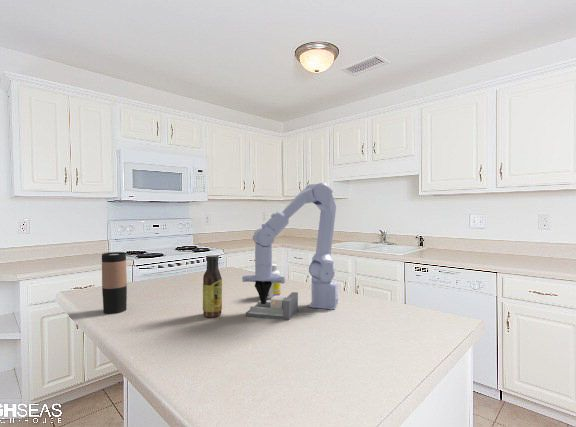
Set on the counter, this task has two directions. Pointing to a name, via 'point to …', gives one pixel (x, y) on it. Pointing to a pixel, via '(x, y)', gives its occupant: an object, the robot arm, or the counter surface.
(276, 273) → the supplement bottle
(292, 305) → the board
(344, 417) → the counter surface
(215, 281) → the sauce bottle
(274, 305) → the block
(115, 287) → the travel mug
